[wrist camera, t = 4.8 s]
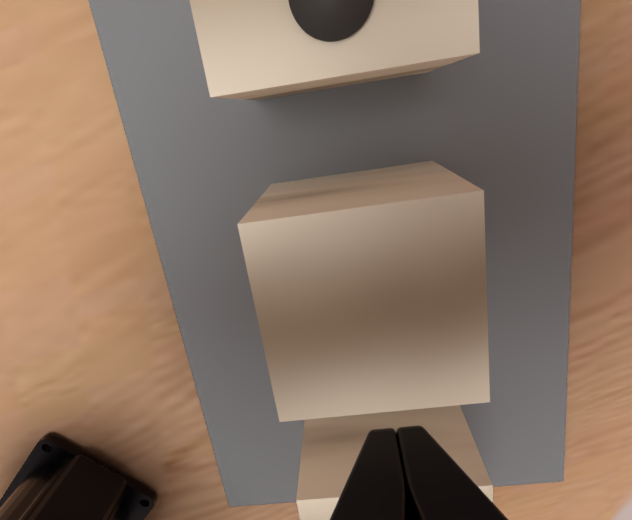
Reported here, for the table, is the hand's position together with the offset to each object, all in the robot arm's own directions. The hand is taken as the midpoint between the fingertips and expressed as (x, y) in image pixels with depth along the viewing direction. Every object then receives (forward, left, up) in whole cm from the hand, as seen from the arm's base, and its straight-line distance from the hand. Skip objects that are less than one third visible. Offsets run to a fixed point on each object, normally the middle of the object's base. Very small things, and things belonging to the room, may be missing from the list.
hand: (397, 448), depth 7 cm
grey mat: (0, 0, -12) cm, 12 cm away
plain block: (0, 0, -11) cm, 11 cm away
